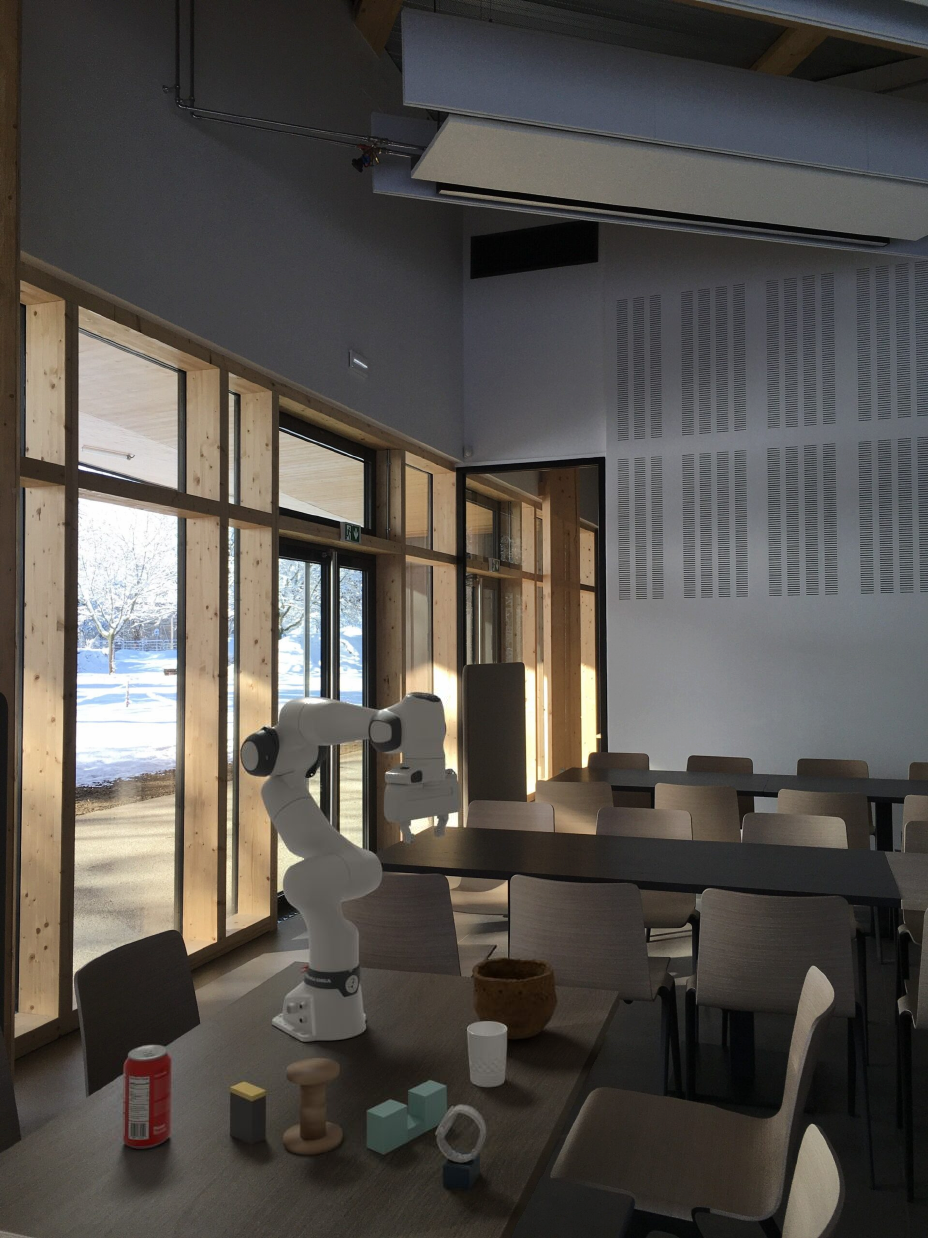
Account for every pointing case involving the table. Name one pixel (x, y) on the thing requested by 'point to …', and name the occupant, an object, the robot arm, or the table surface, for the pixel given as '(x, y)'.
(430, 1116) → the notch board
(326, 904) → the robot arm
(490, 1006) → the bowl
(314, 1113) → the bobbin
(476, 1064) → the white cup
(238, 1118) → the yellow and black block
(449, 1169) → the watch
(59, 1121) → the table surface
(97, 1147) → the table surface
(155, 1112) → the soda can
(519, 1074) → the table surface
